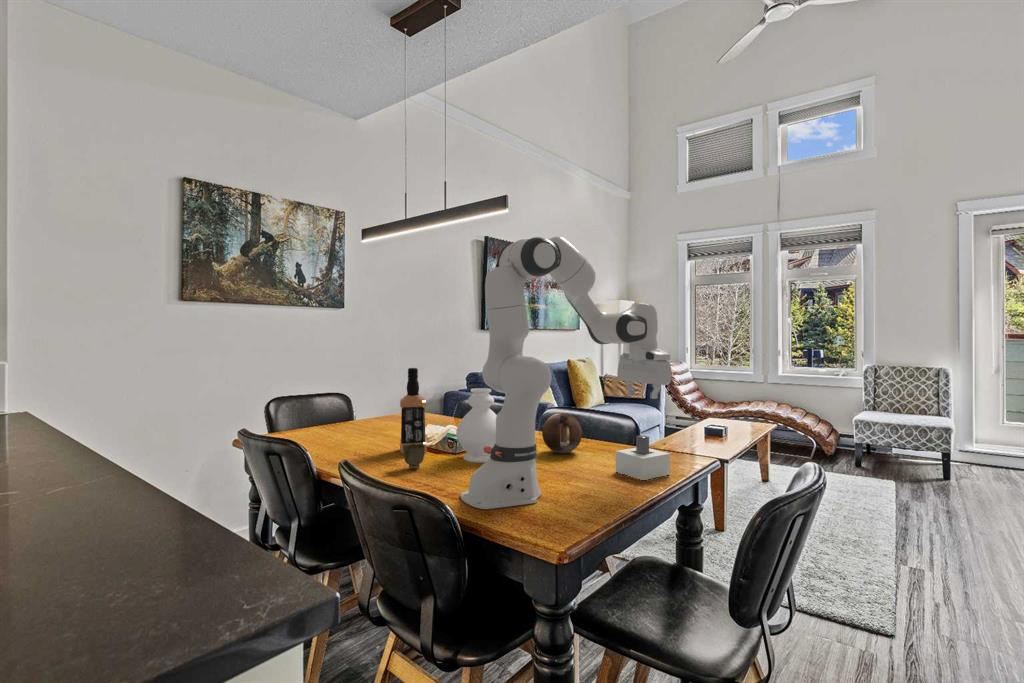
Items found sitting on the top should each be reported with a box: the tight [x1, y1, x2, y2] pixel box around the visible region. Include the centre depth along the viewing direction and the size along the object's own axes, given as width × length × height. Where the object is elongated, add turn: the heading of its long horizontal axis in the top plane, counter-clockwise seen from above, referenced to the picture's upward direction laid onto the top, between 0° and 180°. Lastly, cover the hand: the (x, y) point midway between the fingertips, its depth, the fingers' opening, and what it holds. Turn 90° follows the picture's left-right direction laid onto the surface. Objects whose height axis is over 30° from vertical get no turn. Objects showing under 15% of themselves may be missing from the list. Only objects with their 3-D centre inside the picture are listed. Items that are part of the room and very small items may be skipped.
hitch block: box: [615, 447, 671, 481], centre depth 166 cm, size 12×12×7 cm
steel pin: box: [635, 435, 650, 455], centre depth 166 cm, size 4×4×12 cm
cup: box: [403, 443, 426, 471], centre depth 172 cm, size 8×7×8 cm
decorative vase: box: [455, 387, 497, 463], centre depth 187 cm, size 18×18×25 cm
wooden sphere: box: [541, 412, 583, 454], centre depth 195 cm, size 15×15×15 cm
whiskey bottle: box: [399, 367, 428, 456], centre depth 197 cm, size 10×10×32 cm
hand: (642, 396), depth 166 cm, fingers open, 8 cm apart
